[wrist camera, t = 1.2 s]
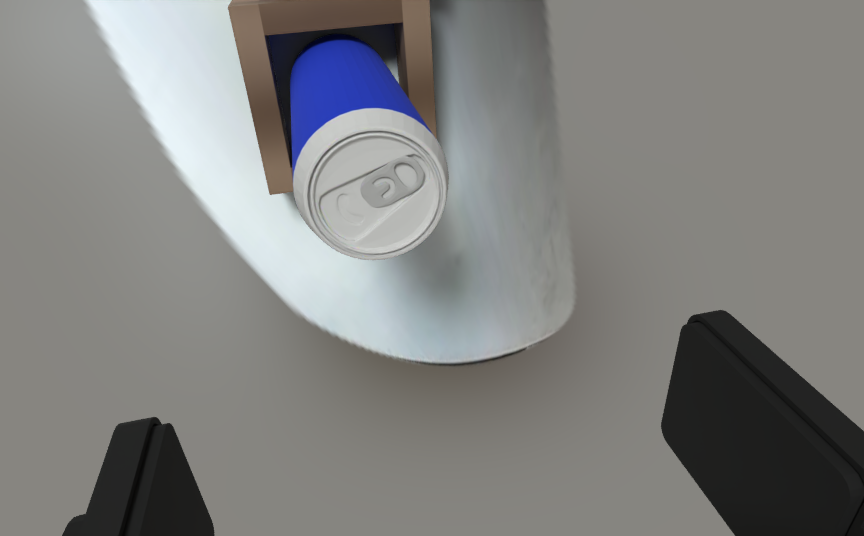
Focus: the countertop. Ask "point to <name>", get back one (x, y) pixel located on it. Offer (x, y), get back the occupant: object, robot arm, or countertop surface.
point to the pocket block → (310, 11)
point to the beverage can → (361, 153)
